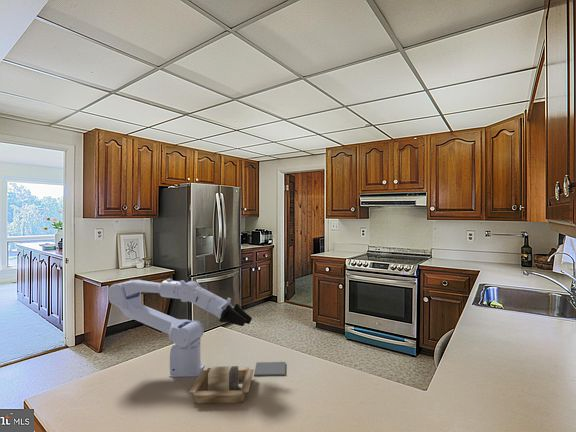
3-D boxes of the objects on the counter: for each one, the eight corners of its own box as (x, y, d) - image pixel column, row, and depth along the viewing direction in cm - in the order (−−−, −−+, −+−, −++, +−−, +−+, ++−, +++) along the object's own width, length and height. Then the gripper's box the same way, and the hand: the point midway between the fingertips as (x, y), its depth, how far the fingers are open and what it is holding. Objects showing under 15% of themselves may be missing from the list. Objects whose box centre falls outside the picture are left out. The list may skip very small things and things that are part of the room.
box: (208, 394, 92) (207, 373, 92) (211, 386, 96) (211, 366, 96) (236, 394, 92) (235, 373, 92) (238, 386, 96) (238, 366, 96)
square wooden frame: (187, 406, 86) (187, 395, 86) (203, 377, 102) (203, 368, 102) (247, 405, 86) (247, 394, 86) (254, 376, 102) (254, 367, 102)
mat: (253, 376, 102) (253, 374, 102) (256, 363, 111) (256, 362, 111) (285, 375, 102) (285, 373, 102) (285, 363, 111) (285, 361, 111)
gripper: (209, 291, 99) (247, 311, 96) (224, 292, 113) (258, 309, 110) (198, 313, 98) (237, 333, 95) (215, 310, 112) (249, 328, 109)
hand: (247, 322), depth 103 cm, fingers open, 7 cm apart
